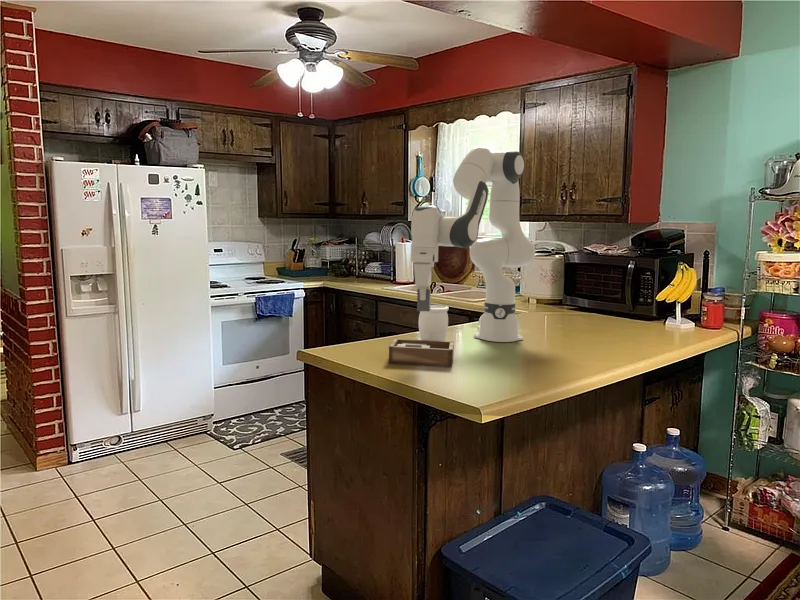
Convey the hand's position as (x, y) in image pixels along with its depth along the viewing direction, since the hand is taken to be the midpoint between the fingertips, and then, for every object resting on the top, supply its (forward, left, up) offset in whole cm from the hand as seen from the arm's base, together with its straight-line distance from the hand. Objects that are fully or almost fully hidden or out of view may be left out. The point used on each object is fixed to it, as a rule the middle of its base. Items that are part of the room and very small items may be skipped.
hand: (423, 299), depth 196 cm
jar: (-19, +2, -20) cm, 28 cm away
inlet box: (+1, 0, -20) cm, 20 cm away
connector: (0, 0, -4) cm, 4 cm away
